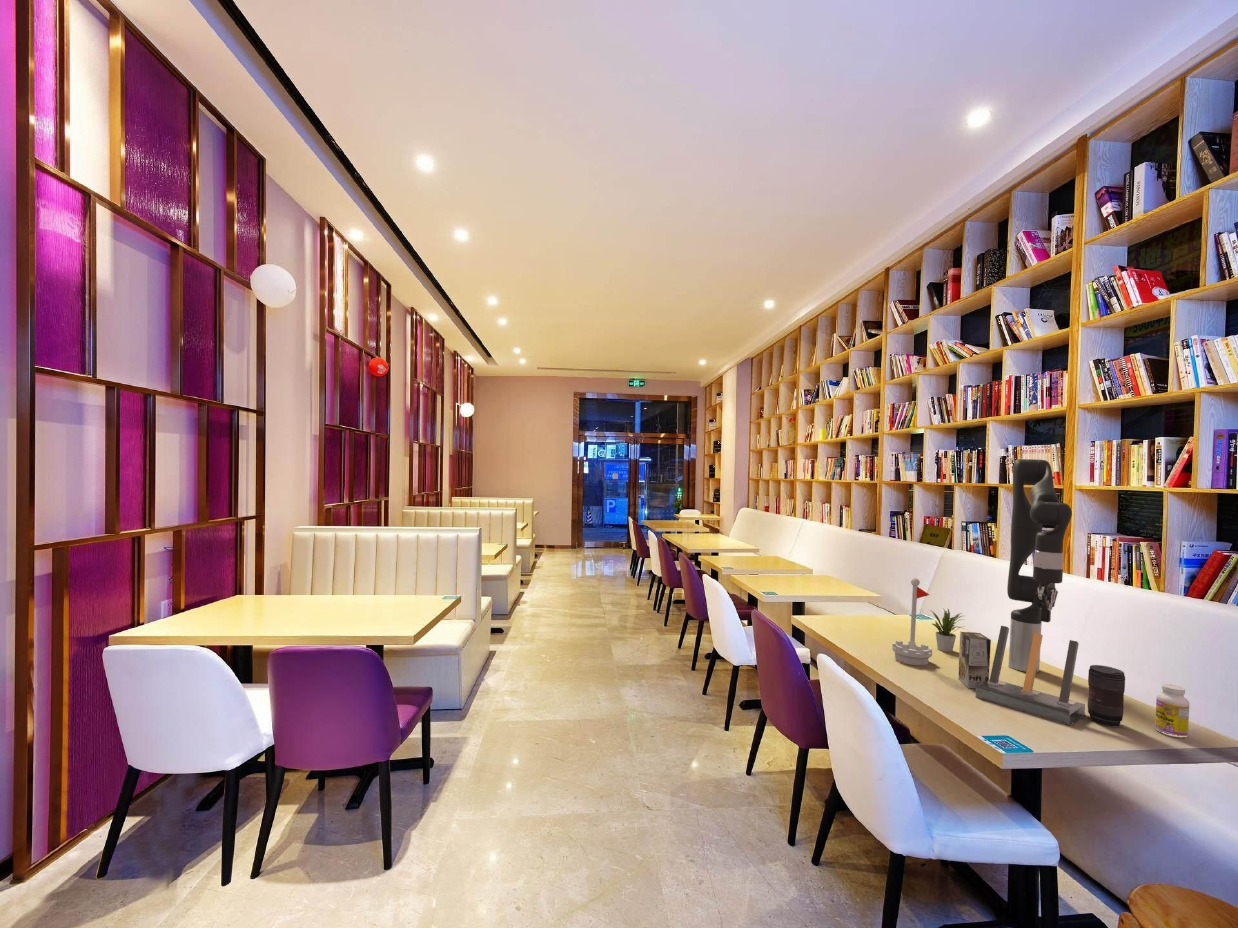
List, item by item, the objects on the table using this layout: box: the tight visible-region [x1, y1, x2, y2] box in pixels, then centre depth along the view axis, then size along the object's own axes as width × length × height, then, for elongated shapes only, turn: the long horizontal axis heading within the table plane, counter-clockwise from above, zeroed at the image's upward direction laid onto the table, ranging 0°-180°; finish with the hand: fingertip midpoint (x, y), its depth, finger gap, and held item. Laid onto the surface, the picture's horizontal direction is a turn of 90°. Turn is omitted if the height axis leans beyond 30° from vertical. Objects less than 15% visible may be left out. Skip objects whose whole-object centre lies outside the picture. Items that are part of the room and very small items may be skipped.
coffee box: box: [958, 631, 992, 690], centre depth 197 cm, size 9×6×16 cm
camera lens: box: [1087, 664, 1126, 728], centre depth 171 cm, size 8×8×15 cm
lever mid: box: [1021, 633, 1044, 697], centre depth 182 cm, size 2×3×19 cm, turn 40°
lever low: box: [987, 625, 1010, 688], centre depth 189 cm, size 2×3×19 cm, turn 40°
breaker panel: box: [975, 680, 1086, 726], centre depth 181 cm, size 14×24×4 cm, turn 39°
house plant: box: [929, 608, 964, 653], centre depth 236 cm, size 14×14×16 cm
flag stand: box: [891, 577, 933, 666], centre depth 221 cm, size 13×13×30 cm
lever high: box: [1057, 639, 1079, 708], centre depth 175 cm, size 2×3×19 cm, turn 40°
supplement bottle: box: [1154, 683, 1190, 737], centre depth 165 cm, size 7×7×13 cm
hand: (1045, 621), depth 188 cm, fingers closed
